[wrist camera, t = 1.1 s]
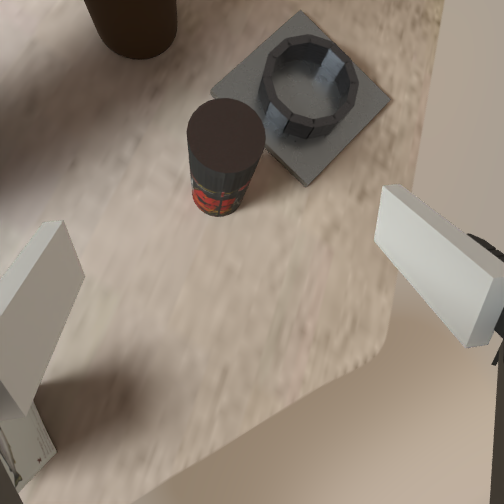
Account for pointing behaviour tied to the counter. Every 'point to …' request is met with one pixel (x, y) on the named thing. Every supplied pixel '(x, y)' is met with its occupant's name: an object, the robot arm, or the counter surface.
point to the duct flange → (304, 96)
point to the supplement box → (24, 447)
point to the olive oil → (135, 25)
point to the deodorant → (223, 153)
